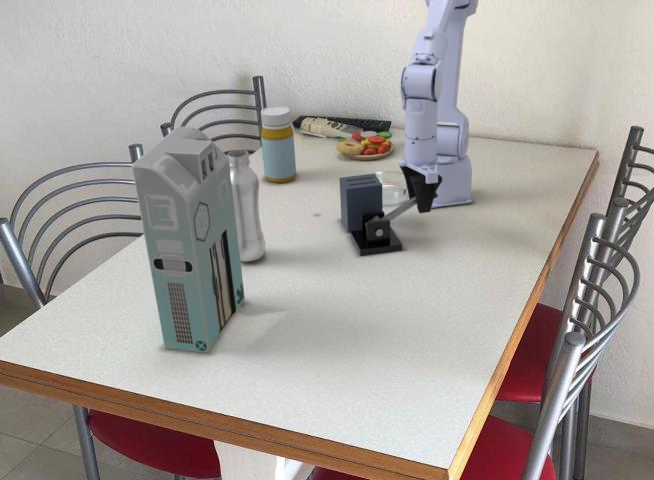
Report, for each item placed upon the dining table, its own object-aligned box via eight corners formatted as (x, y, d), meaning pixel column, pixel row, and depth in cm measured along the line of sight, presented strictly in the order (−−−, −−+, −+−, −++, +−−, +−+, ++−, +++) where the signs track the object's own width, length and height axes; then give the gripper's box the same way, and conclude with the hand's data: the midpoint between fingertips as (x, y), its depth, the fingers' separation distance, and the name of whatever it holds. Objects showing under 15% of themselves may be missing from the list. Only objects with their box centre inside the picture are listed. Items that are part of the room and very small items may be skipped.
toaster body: (375, 216, 174) (374, 172, 169) (382, 228, 169) (382, 184, 164) (341, 220, 173) (339, 177, 168) (347, 233, 168) (346, 188, 163)
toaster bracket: (390, 231, 168) (390, 205, 165) (402, 250, 161) (402, 223, 158) (350, 236, 167) (349, 211, 164) (360, 255, 160) (359, 229, 157)
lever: (431, 188, 163) (425, 179, 161) (439, 199, 159) (434, 188, 157) (368, 229, 165) (362, 220, 163) (375, 240, 161) (369, 231, 159)
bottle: (300, 173, 194) (296, 106, 186) (289, 185, 189) (284, 117, 180) (272, 170, 196) (266, 104, 188) (260, 182, 191) (253, 114, 182)
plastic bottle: (273, 252, 162) (263, 149, 151) (255, 268, 157) (244, 162, 146) (243, 247, 165) (231, 144, 153) (225, 262, 160) (211, 158, 148)
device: (210, 354, 134) (182, 168, 117) (164, 348, 136) (130, 165, 119) (245, 302, 147) (225, 128, 130) (203, 298, 149) (178, 125, 132)
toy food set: (333, 161, 200) (332, 147, 198) (342, 141, 210) (341, 128, 208) (390, 162, 198) (390, 148, 196) (397, 142, 208) (397, 128, 206)
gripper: (388, 124, 159) (388, 194, 167) (410, 151, 147) (410, 224, 155) (425, 120, 160) (424, 189, 168) (450, 146, 148) (447, 219, 156)
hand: (419, 206), depth 161 cm, fingers closed on lever, 5 cm apart
